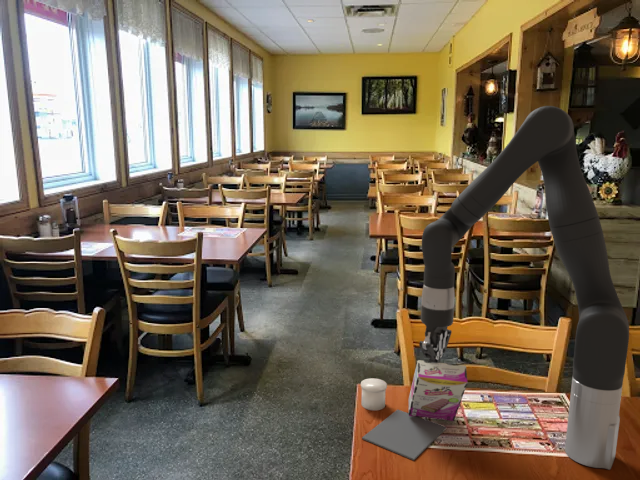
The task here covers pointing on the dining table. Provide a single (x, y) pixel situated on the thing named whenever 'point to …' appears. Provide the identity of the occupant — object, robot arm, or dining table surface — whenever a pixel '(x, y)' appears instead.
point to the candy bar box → (437, 390)
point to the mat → (404, 434)
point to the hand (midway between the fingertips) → (434, 372)
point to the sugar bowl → (373, 394)
